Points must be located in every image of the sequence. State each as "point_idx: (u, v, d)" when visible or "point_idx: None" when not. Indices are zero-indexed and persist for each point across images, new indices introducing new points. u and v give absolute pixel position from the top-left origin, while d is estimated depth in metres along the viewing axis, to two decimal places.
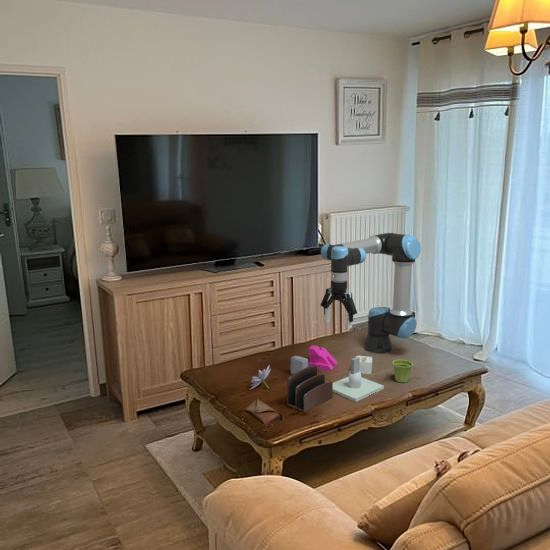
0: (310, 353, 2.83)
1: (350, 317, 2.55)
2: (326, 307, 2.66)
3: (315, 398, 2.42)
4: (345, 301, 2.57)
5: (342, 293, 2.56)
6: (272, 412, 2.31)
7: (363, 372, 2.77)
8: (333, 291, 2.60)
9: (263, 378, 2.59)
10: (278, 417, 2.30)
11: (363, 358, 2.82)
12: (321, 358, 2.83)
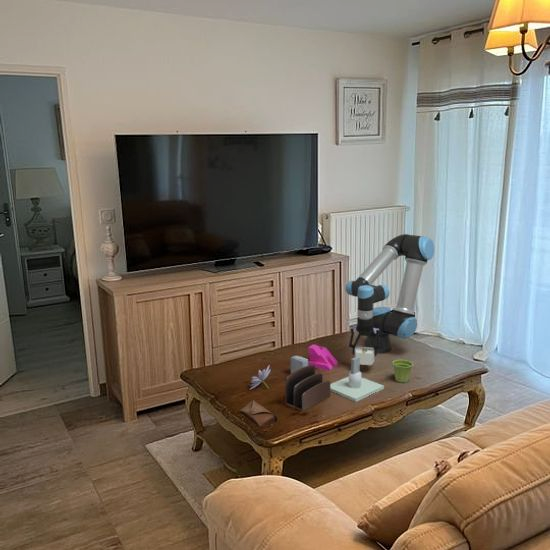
0: (310, 352, 2.84)
1: (375, 351, 2.77)
2: (355, 347, 2.79)
3: (313, 398, 2.43)
4: (371, 336, 2.76)
5: (371, 328, 2.74)
6: (267, 413, 2.30)
7: (364, 363, 2.76)
8: (359, 327, 2.75)
9: (263, 378, 2.59)
10: (273, 418, 2.29)
11: (364, 349, 2.81)
12: (320, 357, 2.84)
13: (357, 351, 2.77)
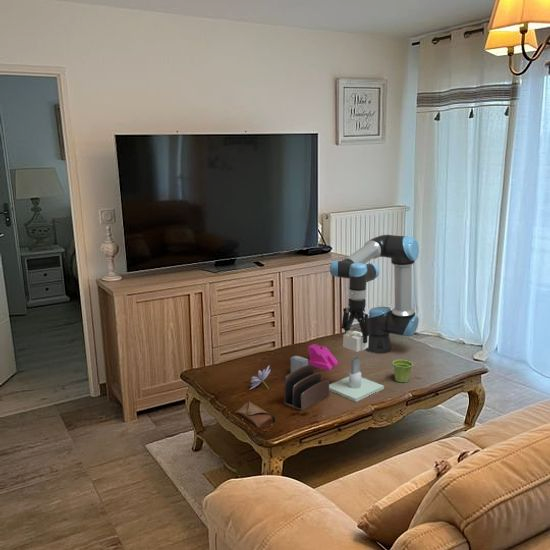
0: (309, 351, 2.85)
1: (364, 338, 2.50)
2: (347, 329, 2.57)
3: (312, 397, 2.43)
4: (362, 321, 2.50)
5: (361, 311, 2.48)
6: (265, 414, 2.30)
7: (350, 348, 2.52)
8: (351, 308, 2.52)
9: (263, 378, 2.59)
10: (271, 419, 2.28)
11: (359, 334, 2.56)
12: (320, 357, 2.84)
13: (346, 334, 2.55)
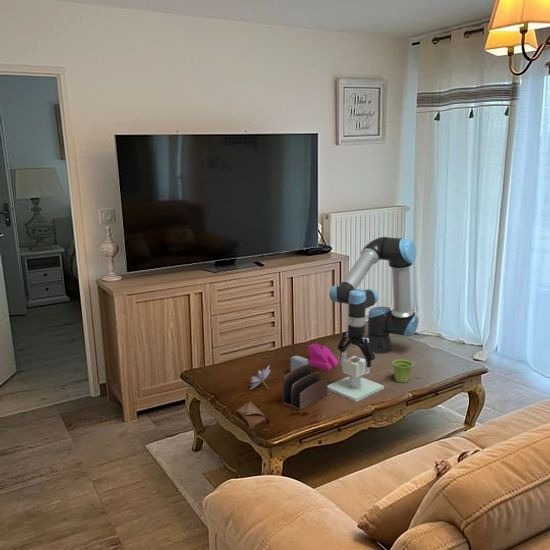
0: (309, 351, 2.86)
1: (368, 362, 2.50)
2: (343, 350, 2.61)
3: (310, 397, 2.44)
4: (363, 346, 2.52)
5: (360, 338, 2.51)
6: (260, 416, 2.28)
7: (350, 374, 2.55)
8: (350, 335, 2.55)
9: (263, 378, 2.59)
10: (265, 421, 2.27)
11: None
12: (320, 356, 2.85)
13: (346, 359, 2.57)
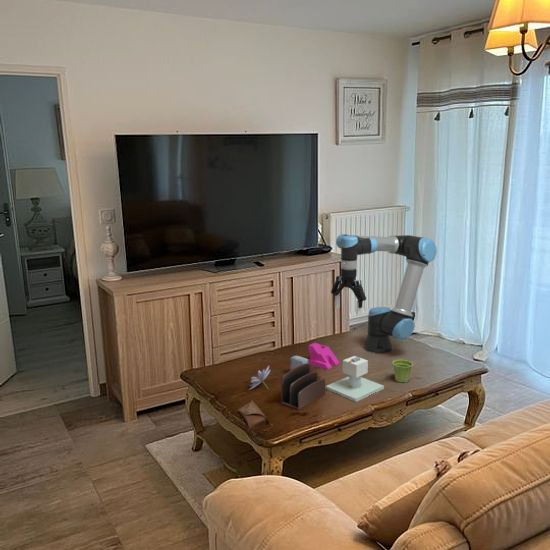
0: (310, 350, 2.87)
1: (359, 303, 2.67)
2: (336, 294, 2.78)
3: (309, 396, 2.45)
4: (355, 288, 2.68)
5: (352, 280, 2.68)
6: (260, 416, 2.28)
7: (350, 374, 2.55)
8: (343, 278, 2.71)
9: (262, 378, 2.59)
10: (264, 421, 2.26)
11: None
12: (320, 356, 2.86)
13: (346, 359, 2.57)
